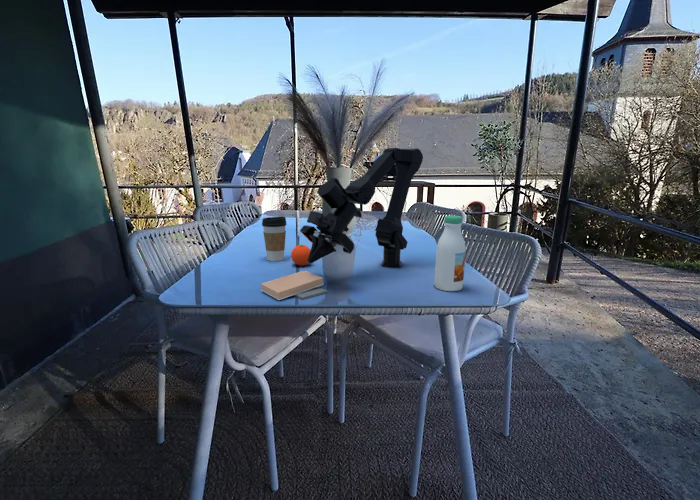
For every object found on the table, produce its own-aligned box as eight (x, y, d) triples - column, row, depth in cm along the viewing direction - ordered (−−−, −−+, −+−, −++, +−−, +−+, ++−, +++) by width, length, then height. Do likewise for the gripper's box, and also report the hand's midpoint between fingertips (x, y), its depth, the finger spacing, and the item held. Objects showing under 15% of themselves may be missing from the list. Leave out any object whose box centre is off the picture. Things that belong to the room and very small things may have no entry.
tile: (304, 270, 105) (260, 283, 96) (323, 277, 98) (278, 292, 89) (304, 276, 105) (261, 290, 97) (323, 284, 99) (278, 300, 90)
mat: (296, 279, 107) (296, 277, 107) (327, 292, 96) (327, 290, 96) (272, 284, 102) (272, 282, 102) (302, 299, 91) (302, 297, 91)
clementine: (288, 262, 125) (288, 242, 123) (308, 260, 127) (308, 241, 125) (293, 268, 117) (292, 247, 116) (314, 266, 120) (314, 246, 118)
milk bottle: (443, 293, 97) (448, 219, 92) (429, 284, 104) (433, 214, 99) (468, 290, 99) (474, 217, 94) (452, 281, 106) (458, 213, 101)
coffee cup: (285, 262, 125) (283, 219, 121) (260, 262, 125) (258, 219, 121) (289, 256, 133) (288, 215, 129) (266, 256, 133) (264, 215, 129)
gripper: (305, 197, 106) (273, 239, 102) (346, 203, 92) (311, 251, 88) (326, 221, 113) (297, 261, 108) (367, 230, 99) (336, 276, 95)
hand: (309, 262), depth 100 cm, fingers closed
